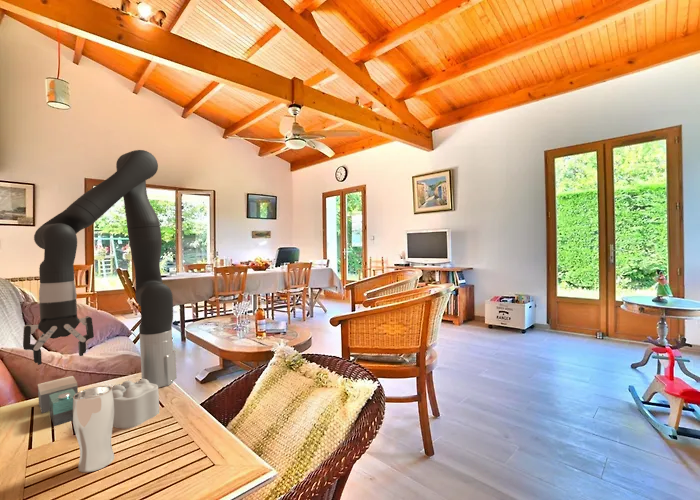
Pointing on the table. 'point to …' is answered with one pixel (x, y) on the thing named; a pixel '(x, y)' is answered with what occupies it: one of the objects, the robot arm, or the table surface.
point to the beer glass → (94, 427)
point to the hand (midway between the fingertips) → (60, 359)
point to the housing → (61, 406)
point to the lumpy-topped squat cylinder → (134, 403)
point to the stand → (54, 390)
